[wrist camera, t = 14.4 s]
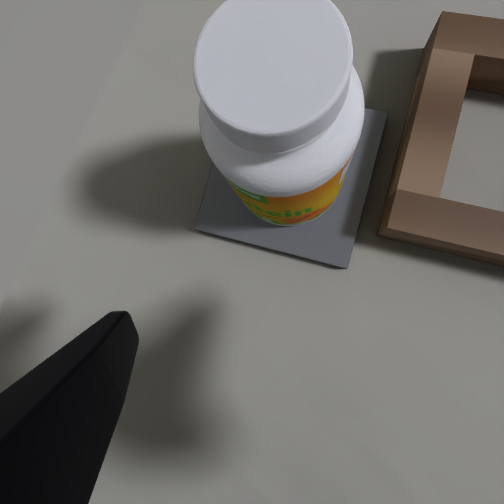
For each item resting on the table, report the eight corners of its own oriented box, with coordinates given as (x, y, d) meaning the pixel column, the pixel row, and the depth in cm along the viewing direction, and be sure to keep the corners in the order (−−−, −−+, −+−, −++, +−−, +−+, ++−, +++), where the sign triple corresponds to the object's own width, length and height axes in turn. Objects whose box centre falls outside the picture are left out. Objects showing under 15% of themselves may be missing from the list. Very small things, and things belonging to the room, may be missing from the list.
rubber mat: (346, 269, 18) (347, 268, 18) (197, 230, 19) (194, 228, 19) (385, 117, 19) (387, 112, 18) (237, 90, 20) (235, 84, 19)
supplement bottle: (226, 215, 19) (141, 143, 9) (250, 116, 19) (191, -56, 9) (330, 237, 18) (357, 183, 8) (354, 133, 18) (406, -38, 9)
